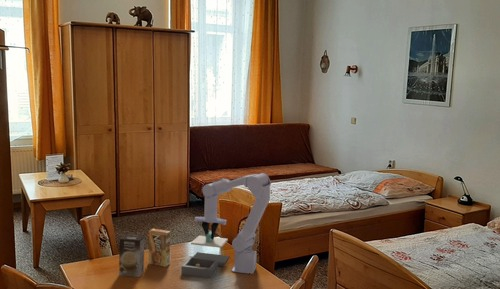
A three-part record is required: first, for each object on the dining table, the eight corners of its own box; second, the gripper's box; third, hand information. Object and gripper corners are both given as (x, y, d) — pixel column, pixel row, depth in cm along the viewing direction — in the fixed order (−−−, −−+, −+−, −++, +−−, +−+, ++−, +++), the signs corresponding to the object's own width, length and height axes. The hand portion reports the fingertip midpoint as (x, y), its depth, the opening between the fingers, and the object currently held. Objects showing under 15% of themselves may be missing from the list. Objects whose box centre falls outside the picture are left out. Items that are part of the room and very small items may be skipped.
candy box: (170, 263, 210) (170, 230, 208) (165, 267, 206) (166, 233, 204) (153, 260, 213) (153, 228, 211) (148, 263, 209) (148, 230, 207)
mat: (229, 256, 221) (229, 256, 221) (222, 267, 208) (222, 266, 208) (197, 253, 224) (197, 252, 224) (188, 263, 212) (188, 262, 211)
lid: (227, 241, 219) (228, 231, 219) (220, 249, 208) (221, 238, 207) (198, 238, 222) (199, 228, 222) (190, 245, 210) (191, 234, 210)
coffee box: (118, 275, 196) (118, 238, 193) (123, 269, 202) (123, 233, 200) (139, 277, 195) (139, 240, 192) (144, 271, 201) (144, 235, 199)
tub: (217, 268, 207) (218, 260, 206) (210, 278, 196) (211, 269, 196) (189, 265, 209) (190, 256, 209) (181, 275, 199) (181, 266, 198)
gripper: (228, 208, 215) (227, 237, 217) (198, 205, 218) (197, 233, 220) (224, 212, 209) (223, 242, 210) (193, 209, 211) (192, 238, 213)
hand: (209, 238), depth 215 cm, fingers closed on lid
